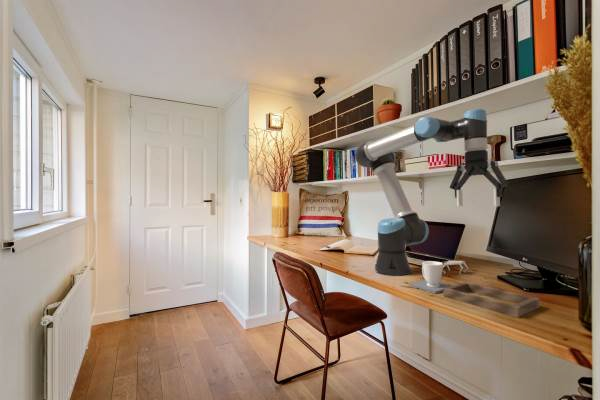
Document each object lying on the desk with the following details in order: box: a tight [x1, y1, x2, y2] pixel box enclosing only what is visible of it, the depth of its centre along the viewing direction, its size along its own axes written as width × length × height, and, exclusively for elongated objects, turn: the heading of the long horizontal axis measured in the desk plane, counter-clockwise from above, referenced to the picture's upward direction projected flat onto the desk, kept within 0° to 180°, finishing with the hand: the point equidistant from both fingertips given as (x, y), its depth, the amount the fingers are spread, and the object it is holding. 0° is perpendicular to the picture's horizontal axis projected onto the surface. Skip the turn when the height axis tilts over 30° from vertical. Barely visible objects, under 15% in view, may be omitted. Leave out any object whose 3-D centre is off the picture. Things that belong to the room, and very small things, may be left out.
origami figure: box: [442, 260, 470, 275], centre depth 123 cm, size 12×8×5 cm
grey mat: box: [407, 279, 454, 294], centre depth 104 cm, size 11×11×1 cm
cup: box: [421, 260, 444, 287], centre depth 105 cm, size 7×10×8 cm
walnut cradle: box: [443, 281, 540, 318], centre depth 89 cm, size 21×13×2 cm, turn 31°
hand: (477, 206), depth 110 cm, fingers open, 13 cm apart
